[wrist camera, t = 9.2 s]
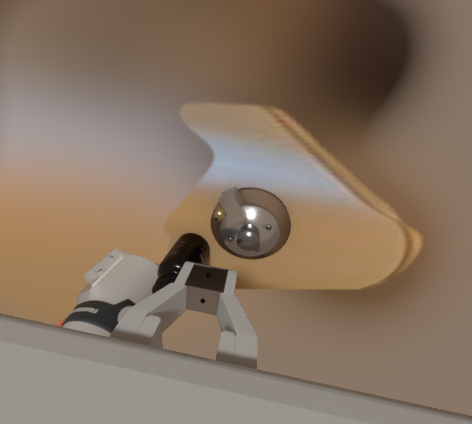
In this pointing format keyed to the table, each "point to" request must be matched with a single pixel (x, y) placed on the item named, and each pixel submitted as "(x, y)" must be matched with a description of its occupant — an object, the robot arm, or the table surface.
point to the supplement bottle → (180, 258)
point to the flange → (247, 225)
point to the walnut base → (264, 200)
